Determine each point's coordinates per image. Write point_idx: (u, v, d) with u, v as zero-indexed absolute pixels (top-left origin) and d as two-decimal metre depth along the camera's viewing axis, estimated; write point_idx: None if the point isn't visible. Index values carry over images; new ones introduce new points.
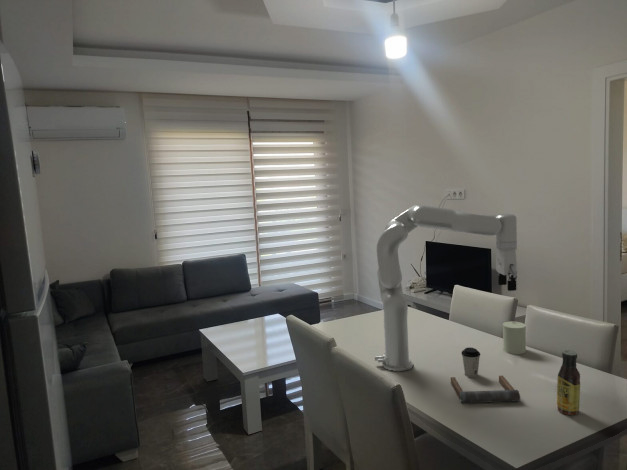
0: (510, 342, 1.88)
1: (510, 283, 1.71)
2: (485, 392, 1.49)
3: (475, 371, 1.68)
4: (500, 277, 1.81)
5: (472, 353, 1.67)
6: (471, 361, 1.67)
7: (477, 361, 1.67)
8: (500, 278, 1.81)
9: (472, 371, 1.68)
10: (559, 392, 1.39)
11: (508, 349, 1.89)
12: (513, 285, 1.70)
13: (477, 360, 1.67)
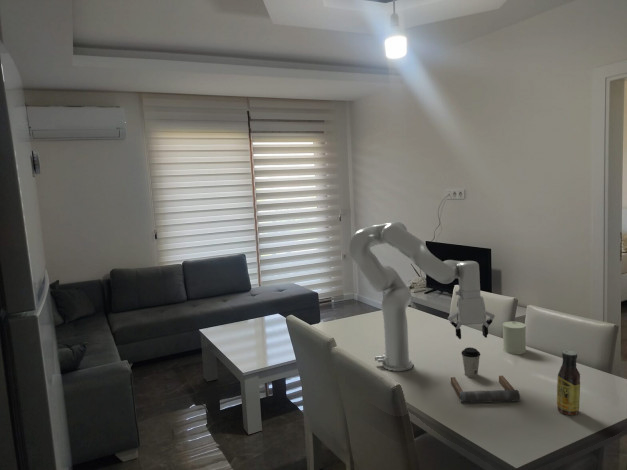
0: (510, 342, 1.88)
1: (487, 329, 1.67)
2: (485, 392, 1.49)
3: (475, 371, 1.68)
4: None
5: (472, 353, 1.67)
6: (471, 361, 1.67)
7: (477, 361, 1.67)
8: None
9: (472, 371, 1.68)
10: (559, 392, 1.39)
11: (508, 349, 1.89)
12: None
13: (477, 360, 1.67)
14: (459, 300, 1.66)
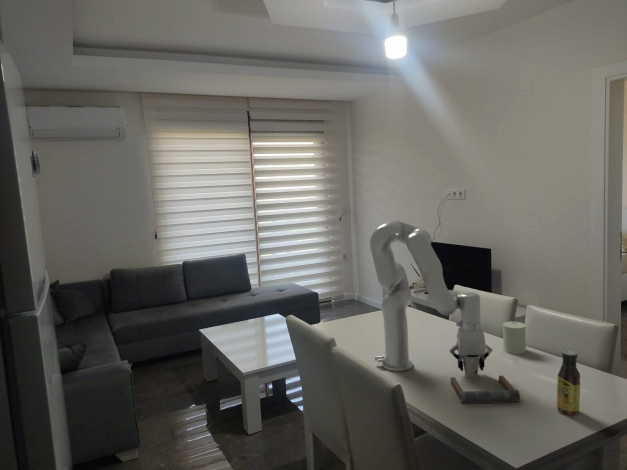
0: (510, 342, 1.88)
1: (483, 362, 1.69)
2: (485, 392, 1.49)
3: (475, 371, 1.68)
4: None
5: None
6: (471, 361, 1.67)
7: (477, 361, 1.67)
8: None
9: (472, 371, 1.68)
10: (559, 392, 1.39)
11: (508, 349, 1.89)
12: None
13: (477, 360, 1.67)
14: (459, 331, 1.67)
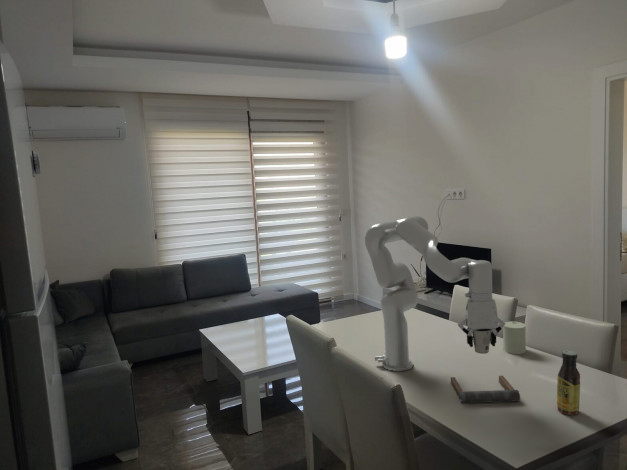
0: (510, 342, 1.88)
1: (495, 337, 1.53)
2: (485, 392, 1.49)
3: (486, 347, 1.52)
4: None
5: None
6: (482, 336, 1.51)
7: (488, 336, 1.52)
8: None
9: (483, 347, 1.52)
10: (559, 392, 1.39)
11: (508, 349, 1.89)
12: None
13: (488, 334, 1.52)
14: (469, 303, 1.52)
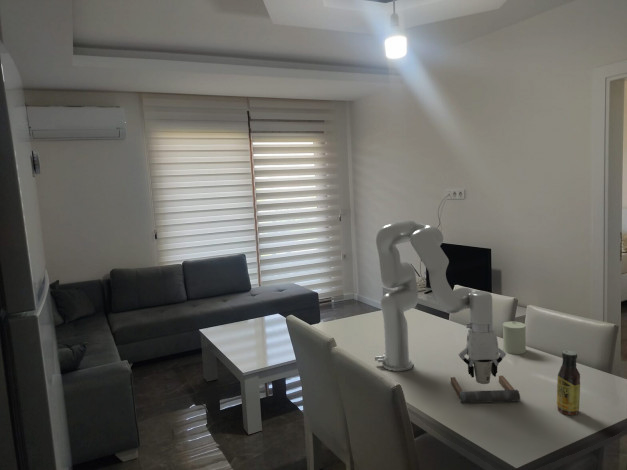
0: (510, 342, 1.88)
1: (496, 367, 1.54)
2: (485, 392, 1.49)
3: (487, 377, 1.53)
4: None
5: None
6: (483, 366, 1.52)
7: (489, 366, 1.53)
8: None
9: (484, 377, 1.53)
10: (559, 392, 1.39)
11: (508, 349, 1.89)
12: None
13: (489, 365, 1.53)
14: (470, 334, 1.53)
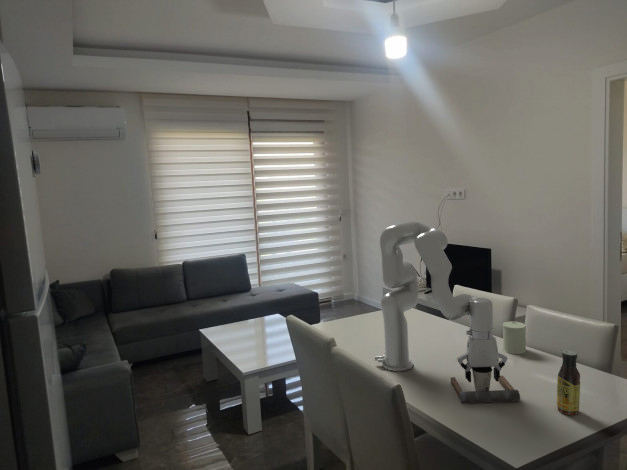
0: (510, 342, 1.88)
1: None
2: (485, 392, 1.49)
3: (487, 388, 1.54)
4: None
5: (483, 368, 1.53)
6: (482, 377, 1.53)
7: (489, 377, 1.53)
8: None
9: (483, 388, 1.54)
10: (559, 392, 1.39)
11: (508, 349, 1.89)
12: None
13: (489, 376, 1.53)
14: (470, 341, 1.53)
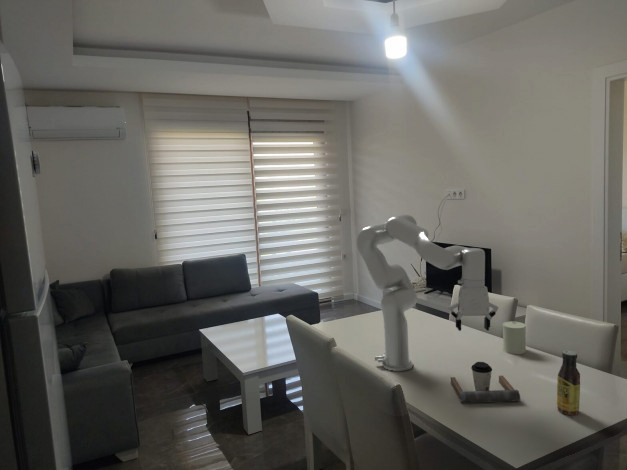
0: (510, 342, 1.88)
1: (489, 321, 1.57)
2: (485, 392, 1.49)
3: (487, 388, 1.54)
4: None
5: (483, 368, 1.53)
6: (482, 377, 1.53)
7: (489, 377, 1.53)
8: None
9: (483, 388, 1.54)
10: (559, 392, 1.39)
11: (508, 349, 1.89)
12: None
13: (489, 376, 1.53)
14: (461, 289, 1.55)
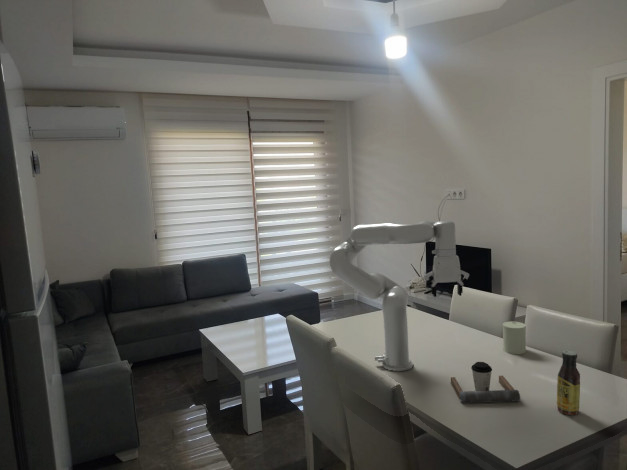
0: (510, 342, 1.88)
1: (461, 287, 1.72)
2: (485, 392, 1.49)
3: (487, 388, 1.54)
4: None
5: (483, 368, 1.53)
6: (482, 377, 1.53)
7: (489, 377, 1.53)
8: (435, 289, 1.72)
9: (483, 388, 1.54)
10: (559, 392, 1.39)
11: (508, 349, 1.89)
12: None
13: (489, 376, 1.53)
14: (435, 258, 1.71)
